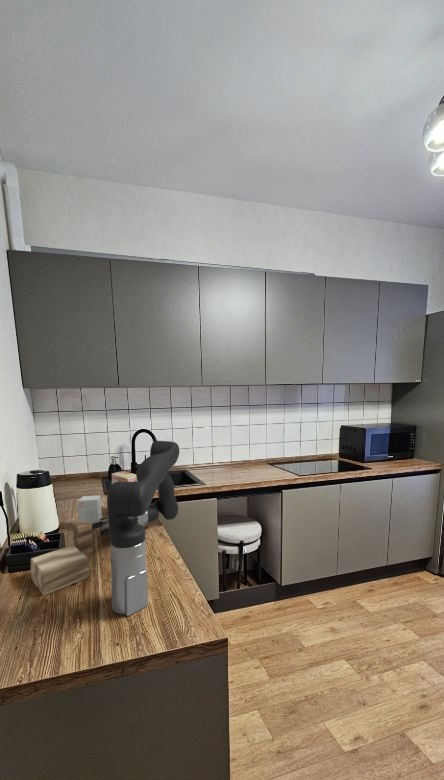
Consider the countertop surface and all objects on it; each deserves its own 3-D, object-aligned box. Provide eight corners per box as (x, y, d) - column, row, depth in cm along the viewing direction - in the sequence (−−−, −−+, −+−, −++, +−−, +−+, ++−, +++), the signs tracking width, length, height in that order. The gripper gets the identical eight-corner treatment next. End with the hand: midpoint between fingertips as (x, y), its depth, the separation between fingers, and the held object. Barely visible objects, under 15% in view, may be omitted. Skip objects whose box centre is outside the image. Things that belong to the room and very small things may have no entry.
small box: (101, 524, 146) (101, 494, 146) (98, 530, 139) (97, 499, 140) (83, 525, 145) (82, 495, 145) (78, 531, 139) (77, 500, 139)
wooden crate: (90, 577, 103) (89, 557, 103) (43, 596, 94) (43, 574, 94) (74, 562, 113) (73, 544, 113) (30, 578, 103) (30, 558, 103)
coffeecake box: (141, 516, 154) (140, 475, 154) (127, 521, 148) (126, 478, 149) (124, 509, 164) (124, 470, 164) (111, 513, 159) (110, 473, 159)
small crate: (93, 551, 120) (92, 523, 120) (78, 556, 117) (78, 528, 117) (87, 547, 124) (86, 520, 124) (73, 551, 120) (72, 524, 120)
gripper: (125, 505, 140) (87, 515, 129) (143, 513, 130) (103, 525, 118) (126, 522, 140) (88, 534, 129) (143, 532, 130) (103, 546, 118)
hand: (95, 530), depth 124 cm, fingers open, 8 cm apart
